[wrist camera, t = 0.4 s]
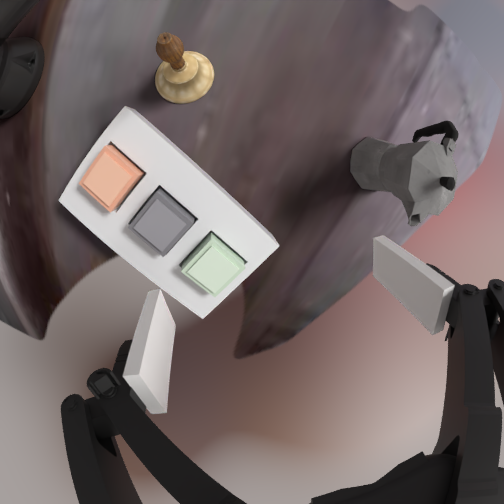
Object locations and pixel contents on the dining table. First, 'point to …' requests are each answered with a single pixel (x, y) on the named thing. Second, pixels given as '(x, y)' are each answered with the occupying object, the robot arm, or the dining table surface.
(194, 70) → the hand bell
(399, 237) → the dining table surface
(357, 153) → the coffeepot
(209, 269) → the sage key
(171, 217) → the charcoal key
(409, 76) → the dining table surface
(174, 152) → the white button panel
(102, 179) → the terracotta key
